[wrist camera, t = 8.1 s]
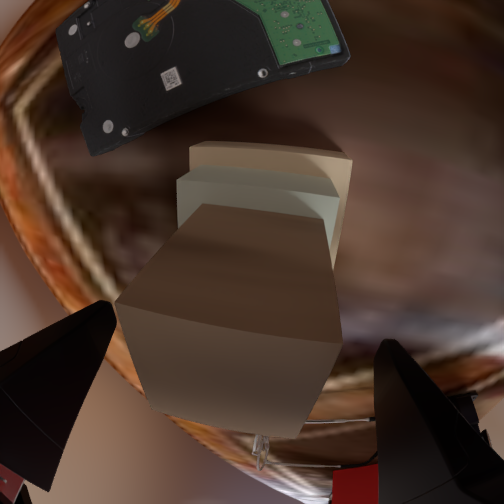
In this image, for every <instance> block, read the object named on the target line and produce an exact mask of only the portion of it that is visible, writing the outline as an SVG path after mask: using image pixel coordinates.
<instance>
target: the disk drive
mask: <svg viewBox="0 0 504 504" xmlns="http://www.w3.org/2000/svg"><path fill="white" fill-rule="evenodd" d="M56 36H57V41H58V45H59V50H60V52H61V53H60V55H61V59H62V64H63V67H64V71H65V77H66V80H67V84H68V88H69V92H70V95H71V96H72V97H73V99H74V100H75V101H76V103H77V105H79V107H80V109H81V110H83V109H84V110H85V112H84V113H83V114H82V123H81V124H80V128H81V130H82V133H83V136H84V139H85V141H86V144H87V147H88V149H89V153H90V155H91V156H97V155H100V154H103V153H106V152H108V151H112V150H114V149H115V148H117V147H119V146H121V145H123V144H125V143H128V142H130V141H132V140H134V139H136V138H138V137H140V136H141V135H143V134H144V133H145V132H146V131H149V130H151V129H153V128H155V127H157V126H159V125H161V124H163V123H165V122H168V121H170V120H172V119H174V118H176V117H178V116H180V115H182V114H185V113H187V112H190V111H192V110H194V109H197V108H199V107H201V106H205V105H207V104H209V103H212V102H214V101H216V100H220V99H222V98H226V97H228V96H230V95H233V94H236V93H239V92H242V91H244V90H248V89H250V88H254V87H257V86H260V85H264V84H267V83H270V82H274V81H277V80H281V79H285V78H287V79H290V78H295V77H297V76H302V75H306V74H308V73H310V72H315V71H319V70H324V69H329V68H334V67H339V66H342V65H343V64H344V63H346V62H347V61H348V59H350V57H351V56H350V52H349V49H348V47H347V44H346V41H345V39H344V36H343V34H342V32H341V29H340V27H339V24H338V22H337V20H336V18H335V15H334V13H333V11H332V9H331V7H330V5H329V2H328V0H89V1H88V2H87V3H85V4H84V5H83V6H81V7H80V8H78V9H77V10H76V11H75V12H74V13H73V14H72V15H70V16H69V17H68V18H67V19H66V20H65V21H64V22H63V23H62V24H61V25H60V26H59V27H58V28H57V29H56Z"/></svg>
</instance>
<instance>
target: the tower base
mask: <svg viewBox="0 0 504 504" xmlns="http://www.w3.org/2000/svg"><path fill="white" fill-rule="evenodd" d="M189 161H190V171H192V170H193V169H195V168H196V167H198V166H200V165H217V166H230V167H242V168H252V169H262V170H271V171H280V172H288V173H296V174H303V175H311V176H317V177H324V178H330V179H331V180H332V182H333V184H334V186H335V189H336V191H337V193H338V195H339V197H340V201H339V206H338V211H337V216H336V221H335V226H334V231H333V236H332V241H331V245H330V250H329V251H330V256H331V262H332V268H334V263H335V259H336V254H337V249H338V244H339V239H340V234H341V229H342V224H343V218H344V213H345V207H346V201H347V195H348V189H349V182H350V176H351V169H352V161H353V160H352V159H351V158H349V157H348V156H347V155H346V154H345V153H344V152H337V151H330V150H323V149H315V148H307V147H298V146H288V145H277V144H265V143H250V142H229V141H204V142H201V143H198V144H196V145H193V146H190V147H189Z"/></svg>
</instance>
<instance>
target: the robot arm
mask: <svg viewBox="0 0 504 504" xmlns="http://www.w3.org/2000/svg"><path fill="white" fill-rule="evenodd" d="M116 325H117V319H116V316H115V313H114V310H113V307H112V304H111V303H110V302H108V301H104V300H99V301H97V302H95V303H93V304H91V305H89V306H87V307H85V308H83V309H81V310H79V311H77V312H75V313H73V314H71V315H69V316H67V317H65V318H64V319H62V320H60V321H58V322H56V323H54V324H52V325H50V326H48V327H46V328H44V329H42V330H41V331H39V332H37V333H35V334H33V335H31V336H29V337H27V338H25V339H24V340H23V341H20V342H18V343H16V344H14V345H12V346H10V347H8V348H6V349H4V350H2V351H0V504H32V502H31V499H30V496H29V492H28V489H27V486H26V485H25V484H24V481H25V480H27V481H29V482H30V483H32V484H34V485H36V486H37V487H39V488H41V489H43V490H45V491H47V492H49V491H50V489H51V486H52V482H53V479H54V476H55V474H56V471H57V468H58V465H59V462H60V459H61V456H62V454H63V450H64V448H65V446H66V443H67V440H68V438H69V435H70V433H71V430H72V428H73V425H74V423H75V420H76V418H77V416H78V413H79V411H80V409H81V407H82V404H83V402H84V399H85V398H86V395H87V393H88V391H89V389H90V387H91V384H92V382H93V380H94V378H95V376H96V374H97V372H98V370H99V368H100V365H101V363H102V361H103V359H104V356H105V354H106V351H107V348H108V346H109V343H110V341H111V338H112V335H113V333H114V330H115V328H116ZM477 396H478V394H477V393H471V394H465V395H459V396H453V397H446V395H445V394H444V393H443V392H442V391H441V390H440V388H439V387H438V386H437V385H436V384H435V383H434V382H433V380H432V379H431V378H430V377H429V376H428V375H427V373H426V372H425V371H424V370H423V369H422V368H421V367H420V366H419V364H418V363H417V362H416V361H415V360H414V359H413V358H412V357H411V356H410V354H409V353H408V352H407V351H406V350H405V349H404V348H403V347H402V346H401V345H400V343H399V342H398V341H397V340H395V339H384V340H383V341H382V342H381V344H380V346H379V348H378V351H377V353H376V355H375V357H374V410H375V421H376V434H377V451H378V504H504V460H503V459H502V458H501V457H500V456H499V455H498V454H497V453H496V452H495V451H494V450H493V448H492V445H491V441H490V437H489V434H488V432H487V430H486V429H485V430H483V431H482V432H481V433H480V430H479V426H478V423H479V420H478V416H477V413H476V410H475V407H474V404H473V401H474V400H475V399H476V398H477Z"/></svg>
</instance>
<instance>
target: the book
mask: <svg viewBox="0 0 504 504" xmlns="http://www.w3.org/2000/svg"><path fill="white" fill-rule="evenodd" d="M332 504H378V464H374V465H369V466H363V467H357V468H350V469H343V470H335V471H333V487H332Z"/></svg>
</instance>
